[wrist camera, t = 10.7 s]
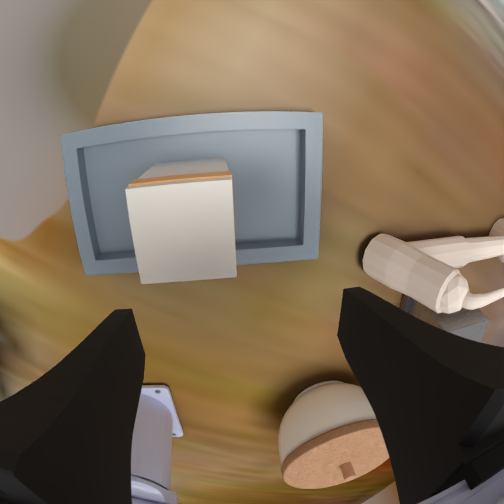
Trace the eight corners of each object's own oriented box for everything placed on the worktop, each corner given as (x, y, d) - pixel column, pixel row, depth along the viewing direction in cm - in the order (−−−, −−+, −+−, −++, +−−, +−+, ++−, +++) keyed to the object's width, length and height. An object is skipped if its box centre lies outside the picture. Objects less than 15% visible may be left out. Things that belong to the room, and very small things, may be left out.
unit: (383, 366, 27) (409, 409, 22) (404, 286, 24) (444, 328, 18) (430, 353, 28) (459, 391, 23) (454, 278, 24) (495, 313, 19)
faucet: (467, 236, 29) (540, 269, 20) (359, 285, 22) (469, 356, 14) (473, 201, 27) (550, 231, 19) (364, 233, 20) (492, 295, 12)
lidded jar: (379, 351, 26) (425, 426, 18) (362, 417, 31) (391, 481, 22) (265, 375, 26) (286, 468, 17) (270, 438, 30) (286, 511, 22)
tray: (92, 265, 20) (85, 275, 18) (70, 133, 16) (60, 134, 15) (311, 249, 21) (317, 258, 20) (314, 112, 18) (322, 112, 16)
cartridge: (162, 228, 19) (140, 285, 13) (155, 162, 17) (123, 188, 11) (228, 223, 19) (238, 277, 13) (225, 156, 18) (233, 178, 11)
